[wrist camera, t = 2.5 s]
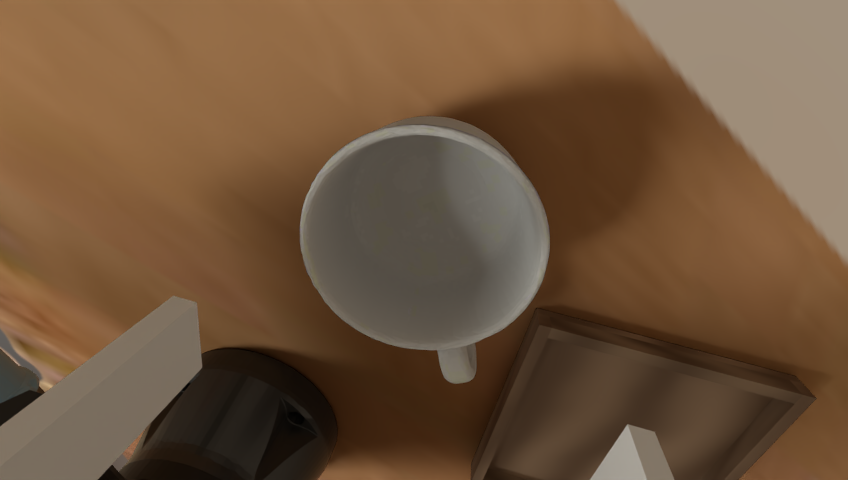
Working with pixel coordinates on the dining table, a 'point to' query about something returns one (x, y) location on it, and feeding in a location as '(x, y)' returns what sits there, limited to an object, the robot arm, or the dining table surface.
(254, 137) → the dining table surface
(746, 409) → the shallow tray
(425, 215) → the teacup
